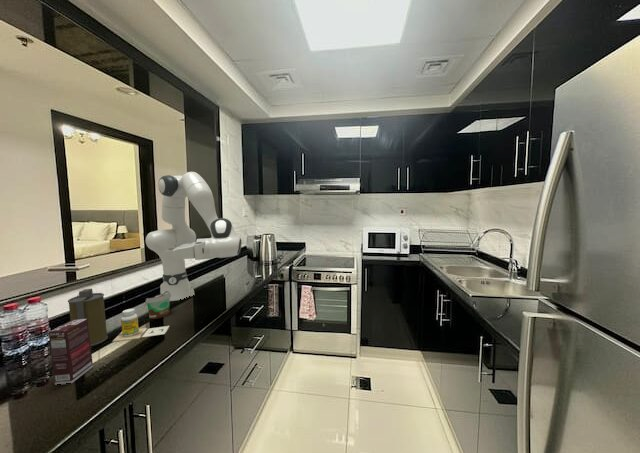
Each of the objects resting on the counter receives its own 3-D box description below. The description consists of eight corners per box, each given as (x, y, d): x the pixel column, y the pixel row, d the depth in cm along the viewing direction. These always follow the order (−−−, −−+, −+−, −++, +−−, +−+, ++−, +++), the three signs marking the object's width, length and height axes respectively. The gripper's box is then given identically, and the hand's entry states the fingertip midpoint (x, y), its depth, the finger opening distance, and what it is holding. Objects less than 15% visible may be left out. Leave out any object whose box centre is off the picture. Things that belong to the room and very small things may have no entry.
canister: (80, 338, 107) (75, 288, 106) (112, 333, 111) (107, 284, 109) (65, 351, 97) (60, 296, 96) (101, 345, 101) (96, 292, 99)
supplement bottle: (138, 329, 112) (136, 306, 112) (139, 334, 108) (137, 310, 107) (122, 333, 109) (120, 310, 108) (122, 338, 105) (120, 314, 104)
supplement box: (77, 368, 86) (72, 319, 85) (93, 367, 86) (89, 318, 85) (53, 386, 77) (47, 331, 76) (71, 384, 78) (65, 330, 77)
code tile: (148, 328, 114) (148, 328, 114) (169, 325, 116) (169, 325, 116) (141, 337, 106) (141, 337, 106) (164, 334, 108) (164, 333, 108)
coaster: (122, 332, 112) (122, 331, 111) (147, 328, 114) (147, 327, 114) (112, 342, 103) (112, 341, 103) (139, 338, 105) (139, 337, 105)
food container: (158, 321, 122) (157, 299, 121) (147, 320, 123) (145, 298, 123) (178, 310, 134) (176, 290, 133) (167, 310, 135) (165, 290, 135)
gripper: (204, 239, 126) (171, 241, 122) (197, 244, 106) (158, 247, 102) (205, 252, 126) (172, 255, 122) (199, 260, 107) (159, 263, 103)
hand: (165, 251), depth 112 cm, fingers open, 8 cm apart
